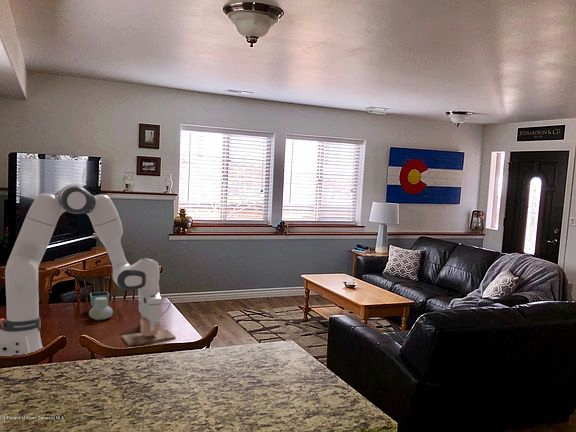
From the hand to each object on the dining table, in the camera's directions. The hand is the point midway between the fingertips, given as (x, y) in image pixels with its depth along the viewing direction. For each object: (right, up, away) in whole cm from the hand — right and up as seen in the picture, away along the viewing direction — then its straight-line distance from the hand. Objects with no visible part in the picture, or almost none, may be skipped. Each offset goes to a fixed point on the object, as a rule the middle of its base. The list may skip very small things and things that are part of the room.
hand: (148, 327), depth 219 cm
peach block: (0, -3, 0) cm, 3 cm away
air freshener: (-31, -2, +28) cm, 42 cm away
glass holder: (-3, -3, +22) cm, 23 cm away
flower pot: (-37, -1, +41) cm, 55 cm away
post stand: (0, -5, 0) cm, 5 cm away
